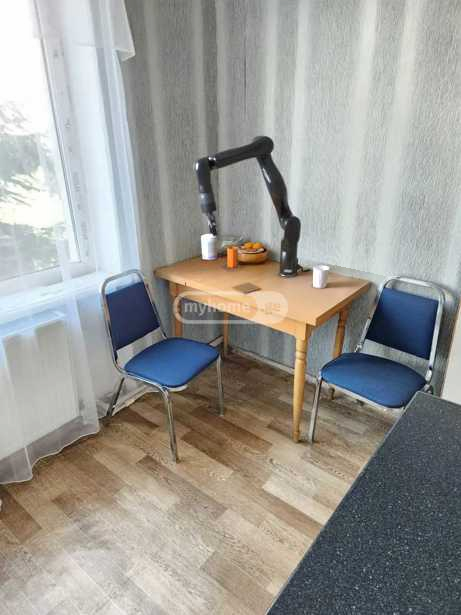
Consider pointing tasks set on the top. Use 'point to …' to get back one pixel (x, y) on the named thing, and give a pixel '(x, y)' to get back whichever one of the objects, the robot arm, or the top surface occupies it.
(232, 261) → the orange cylinder
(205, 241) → the supplement tub
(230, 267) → the stake
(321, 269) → the white cup
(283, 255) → the robot arm
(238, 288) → the cork coaster
